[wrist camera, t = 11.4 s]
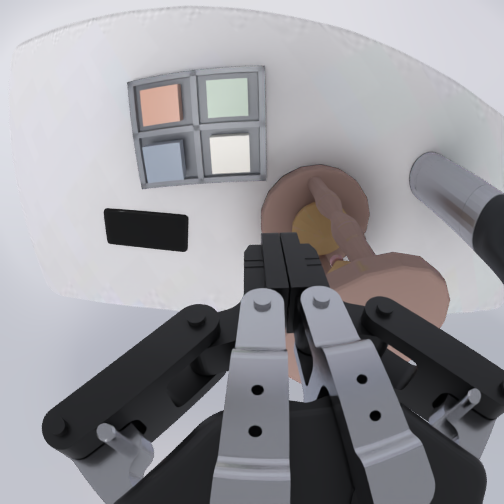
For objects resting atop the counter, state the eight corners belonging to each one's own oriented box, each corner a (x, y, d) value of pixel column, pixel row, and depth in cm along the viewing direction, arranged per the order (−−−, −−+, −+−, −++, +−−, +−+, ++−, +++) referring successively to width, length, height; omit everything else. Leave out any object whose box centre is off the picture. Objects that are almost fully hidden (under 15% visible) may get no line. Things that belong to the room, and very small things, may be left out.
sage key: (247, 78, 29) (247, 77, 28) (248, 114, 32) (248, 115, 31) (207, 81, 29) (205, 80, 28) (209, 116, 32) (208, 118, 31)
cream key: (248, 133, 34) (249, 135, 32) (249, 167, 37) (250, 172, 35) (211, 135, 34) (209, 137, 32) (213, 169, 36) (212, 174, 35)
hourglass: (263, 160, 37) (291, 269, 17) (373, 169, 38) (477, 264, 18) (258, 261, 47) (269, 395, 27) (352, 260, 48) (406, 376, 27)
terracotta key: (180, 84, 29) (177, 84, 28) (183, 119, 32) (180, 121, 31) (144, 90, 29) (139, 90, 28) (148, 124, 32) (143, 126, 30)
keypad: (263, 67, 30) (264, 65, 28) (265, 175, 39) (266, 180, 37) (133, 82, 30) (127, 82, 28) (146, 183, 39) (141, 189, 37)
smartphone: (102, 209, 40) (188, 216, 42) (104, 207, 41) (189, 214, 42) (107, 244, 44) (187, 253, 45) (109, 241, 44) (187, 250, 46)
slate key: (182, 139, 32) (179, 142, 31) (186, 174, 35) (183, 179, 34) (147, 144, 32) (142, 147, 31) (152, 178, 35) (148, 183, 34)
